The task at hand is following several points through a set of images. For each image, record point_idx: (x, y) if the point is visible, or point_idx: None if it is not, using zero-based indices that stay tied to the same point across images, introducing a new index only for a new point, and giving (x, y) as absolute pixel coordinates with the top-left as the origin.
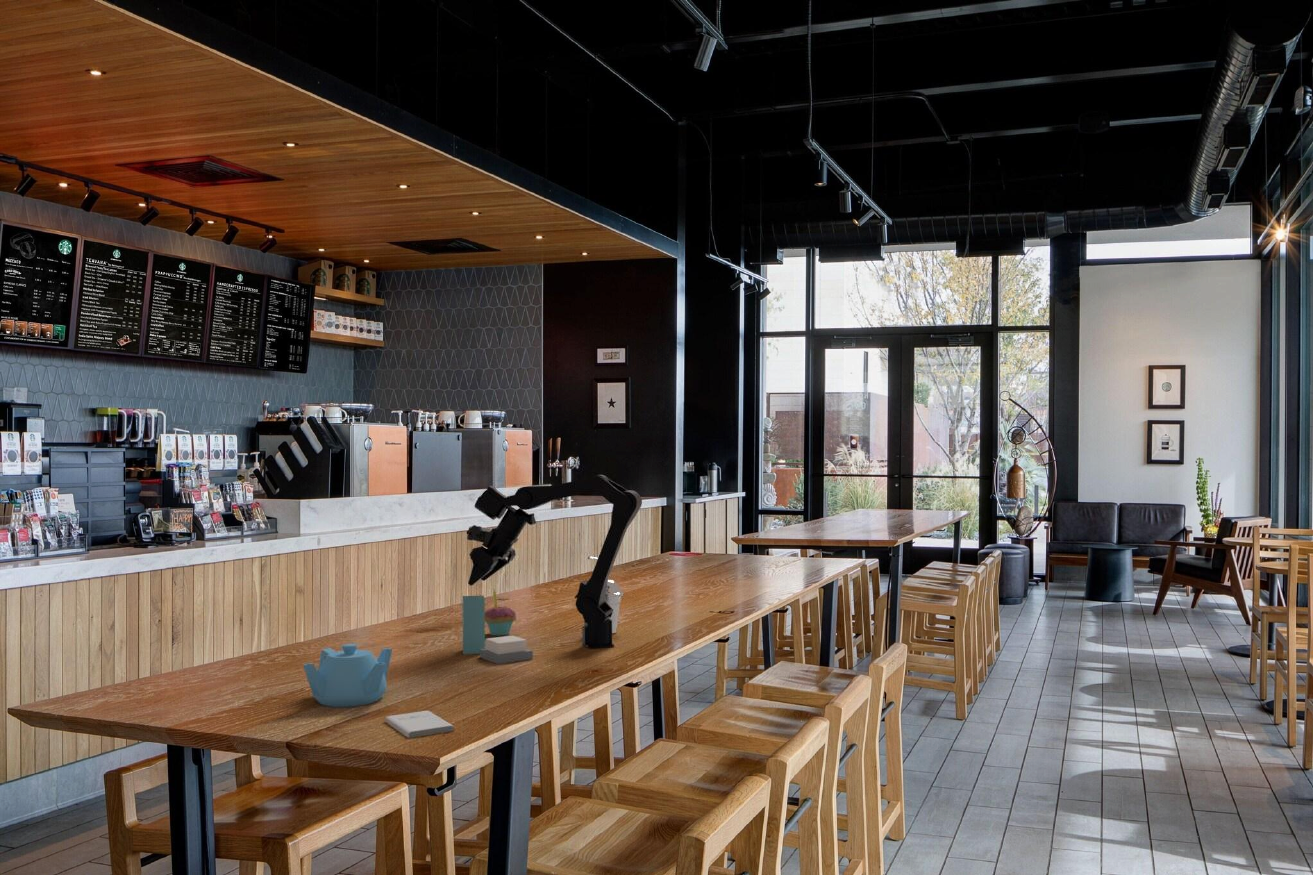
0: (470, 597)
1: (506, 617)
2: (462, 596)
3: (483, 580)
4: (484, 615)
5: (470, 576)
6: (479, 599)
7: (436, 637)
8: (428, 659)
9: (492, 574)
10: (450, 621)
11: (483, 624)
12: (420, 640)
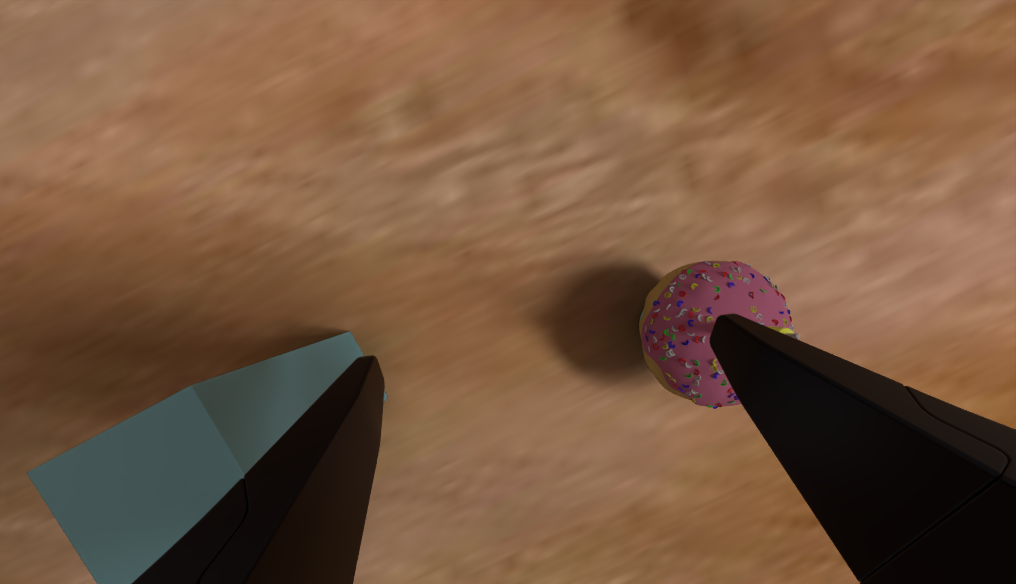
0: (137, 484)
1: (673, 388)
2: (177, 392)
3: (710, 339)
4: None
5: (298, 422)
6: (107, 577)
7: (550, 124)
8: (153, 289)
9: (770, 446)
10: (859, 30)
11: None
12: (480, 91)
